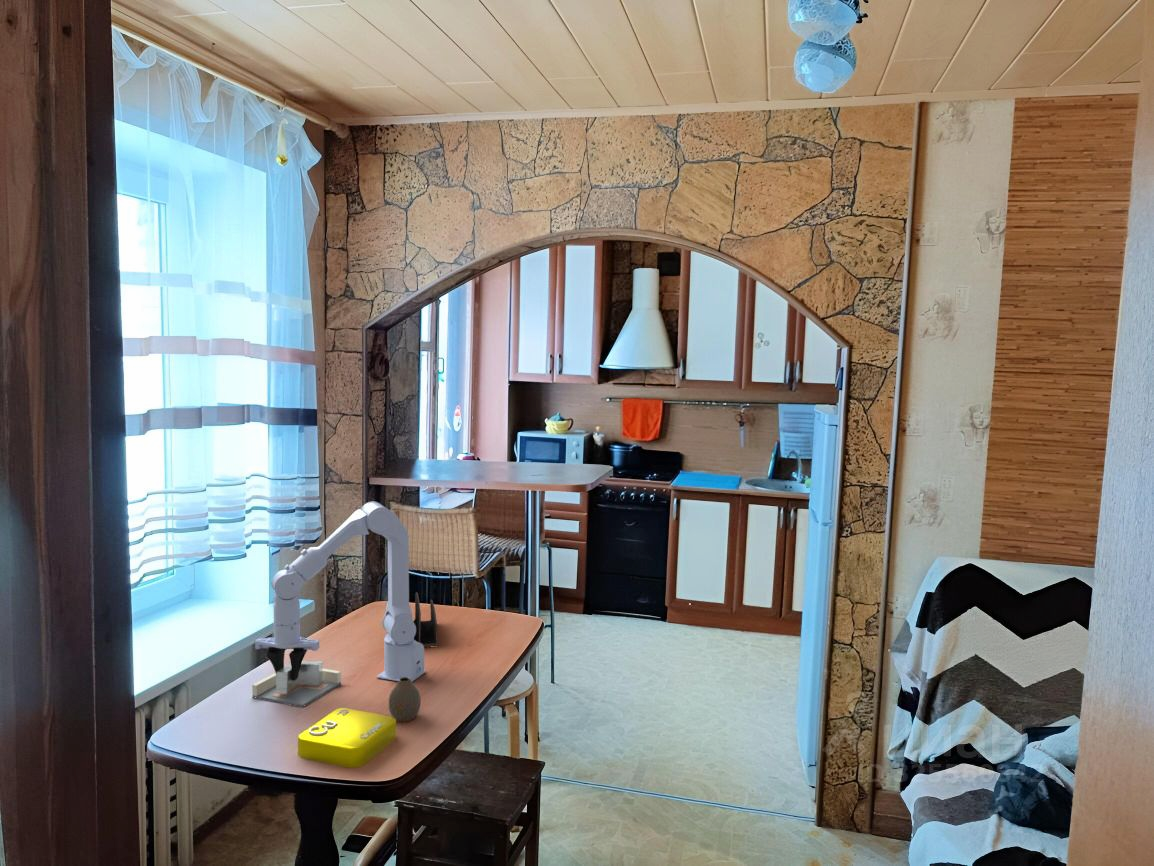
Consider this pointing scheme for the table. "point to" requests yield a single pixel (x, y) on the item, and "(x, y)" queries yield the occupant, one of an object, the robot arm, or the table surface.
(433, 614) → the letter holder
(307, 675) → the bracket
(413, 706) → the vase
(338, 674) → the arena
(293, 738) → the table surface
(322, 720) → the element tile
